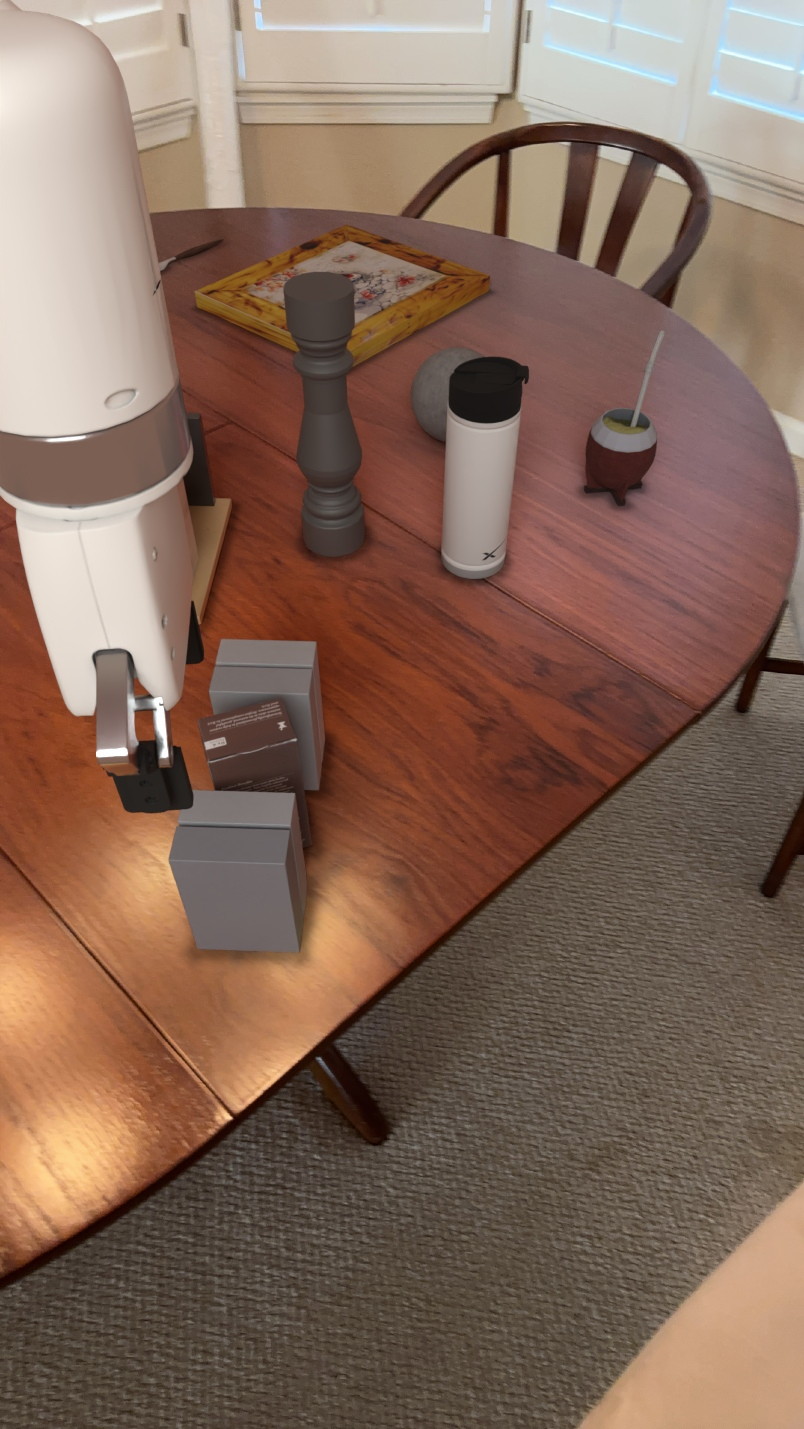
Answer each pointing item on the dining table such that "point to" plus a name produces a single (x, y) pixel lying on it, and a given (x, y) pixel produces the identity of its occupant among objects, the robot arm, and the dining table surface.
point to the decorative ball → (436, 388)
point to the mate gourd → (622, 445)
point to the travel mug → (480, 464)
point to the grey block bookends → (252, 812)
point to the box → (256, 754)
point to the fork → (189, 253)
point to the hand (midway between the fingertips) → (168, 728)
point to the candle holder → (326, 411)
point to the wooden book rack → (202, 516)
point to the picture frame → (387, 289)
